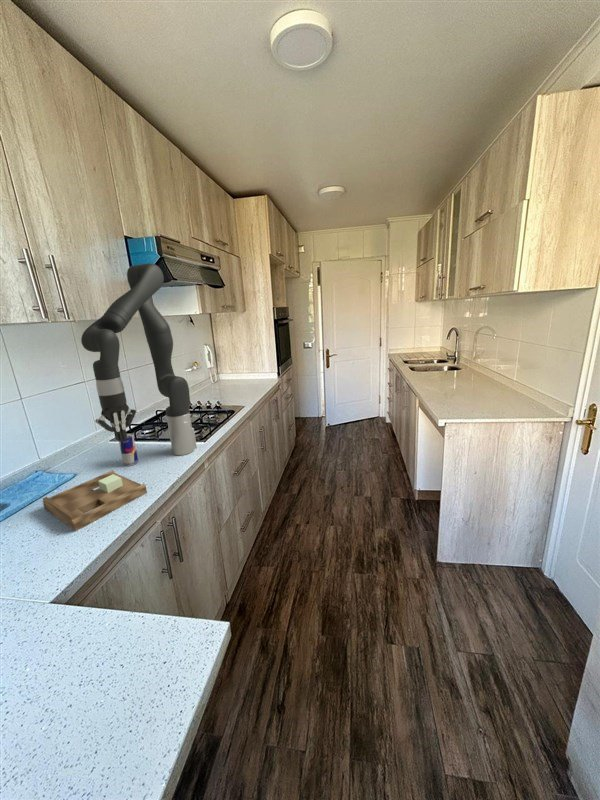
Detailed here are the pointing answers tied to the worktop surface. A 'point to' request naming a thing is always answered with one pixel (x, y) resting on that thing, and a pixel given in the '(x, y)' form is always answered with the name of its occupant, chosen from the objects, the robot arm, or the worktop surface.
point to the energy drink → (129, 451)
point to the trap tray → (91, 501)
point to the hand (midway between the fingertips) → (121, 440)
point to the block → (110, 483)
